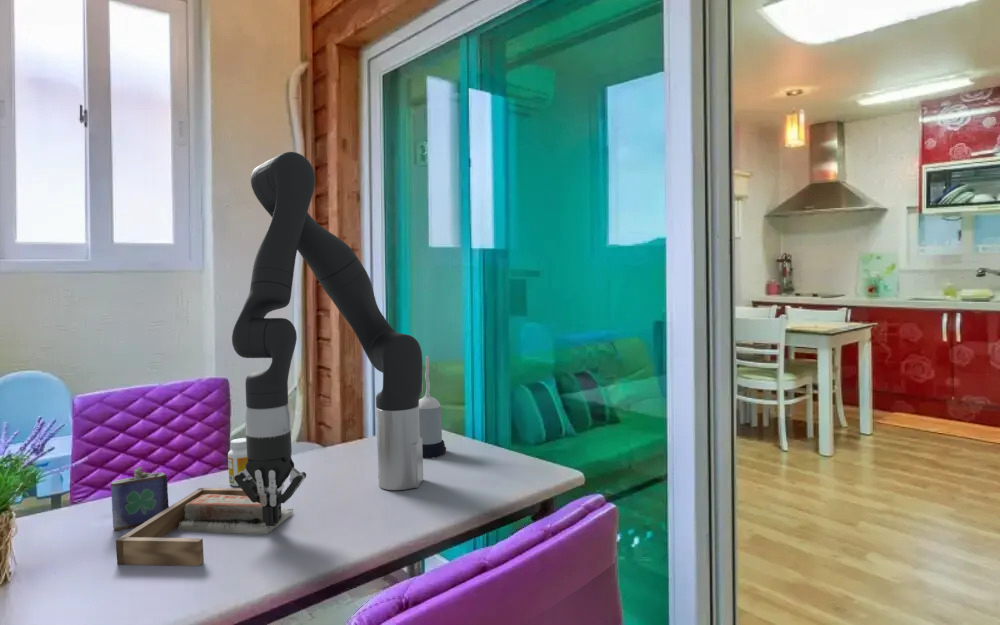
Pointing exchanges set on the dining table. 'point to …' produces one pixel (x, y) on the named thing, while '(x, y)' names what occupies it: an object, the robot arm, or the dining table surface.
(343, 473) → the dining table surface
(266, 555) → the dining table surface
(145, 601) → the dining table surface
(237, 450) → the supplement bottle
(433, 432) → the humidifier
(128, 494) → the flask
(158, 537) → the frame
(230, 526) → the packaged product
